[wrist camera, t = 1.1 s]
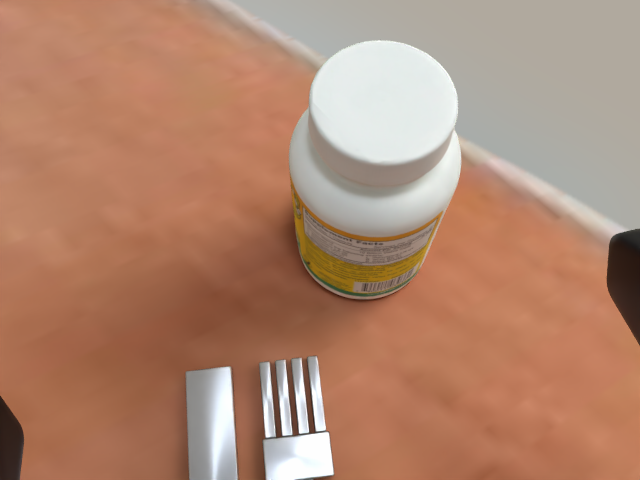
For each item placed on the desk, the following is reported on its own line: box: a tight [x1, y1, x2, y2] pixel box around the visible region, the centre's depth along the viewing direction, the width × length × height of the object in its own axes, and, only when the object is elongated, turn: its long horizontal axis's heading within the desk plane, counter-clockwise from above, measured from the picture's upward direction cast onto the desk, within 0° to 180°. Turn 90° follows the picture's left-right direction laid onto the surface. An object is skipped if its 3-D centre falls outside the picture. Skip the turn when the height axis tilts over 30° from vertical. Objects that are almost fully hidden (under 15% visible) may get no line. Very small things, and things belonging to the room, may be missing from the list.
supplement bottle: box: [289, 41, 461, 299], centre depth 20 cm, size 5×5×10 cm
